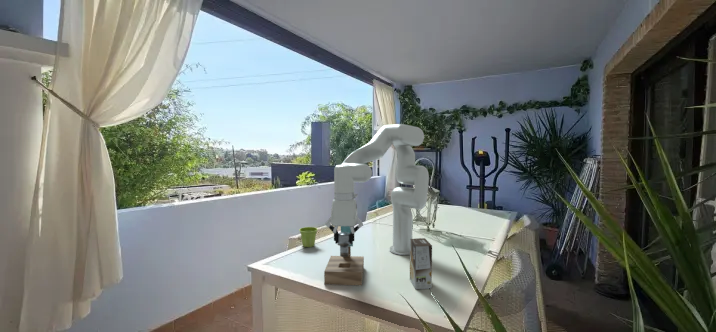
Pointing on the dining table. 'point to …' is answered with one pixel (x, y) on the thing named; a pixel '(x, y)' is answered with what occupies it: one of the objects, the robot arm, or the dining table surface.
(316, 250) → the dining table surface
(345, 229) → the teal flat block
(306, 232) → the plant pot
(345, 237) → the pin
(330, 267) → the block
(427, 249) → the coffee box
